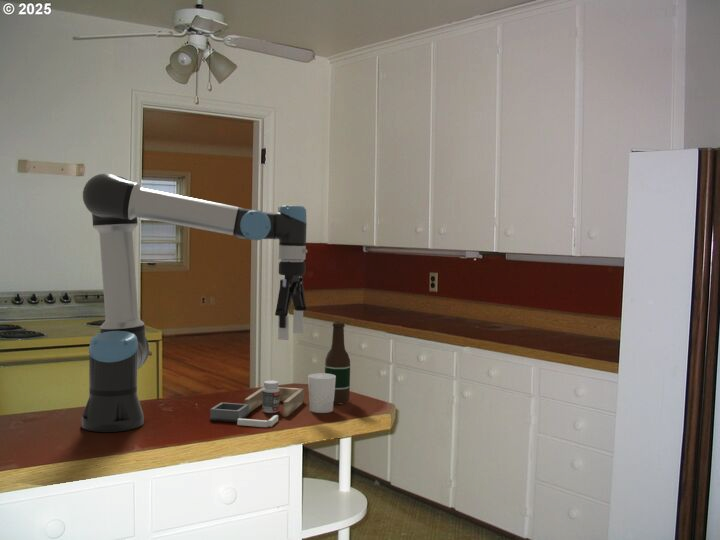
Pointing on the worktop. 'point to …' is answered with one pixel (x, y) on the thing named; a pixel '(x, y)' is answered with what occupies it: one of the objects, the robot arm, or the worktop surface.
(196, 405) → the worktop surface
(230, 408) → the bin
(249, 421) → the white l-shaped block
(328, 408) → the white cup
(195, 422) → the worktop surface
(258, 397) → the cubby
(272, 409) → the pill bottle
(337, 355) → the beer bottle
